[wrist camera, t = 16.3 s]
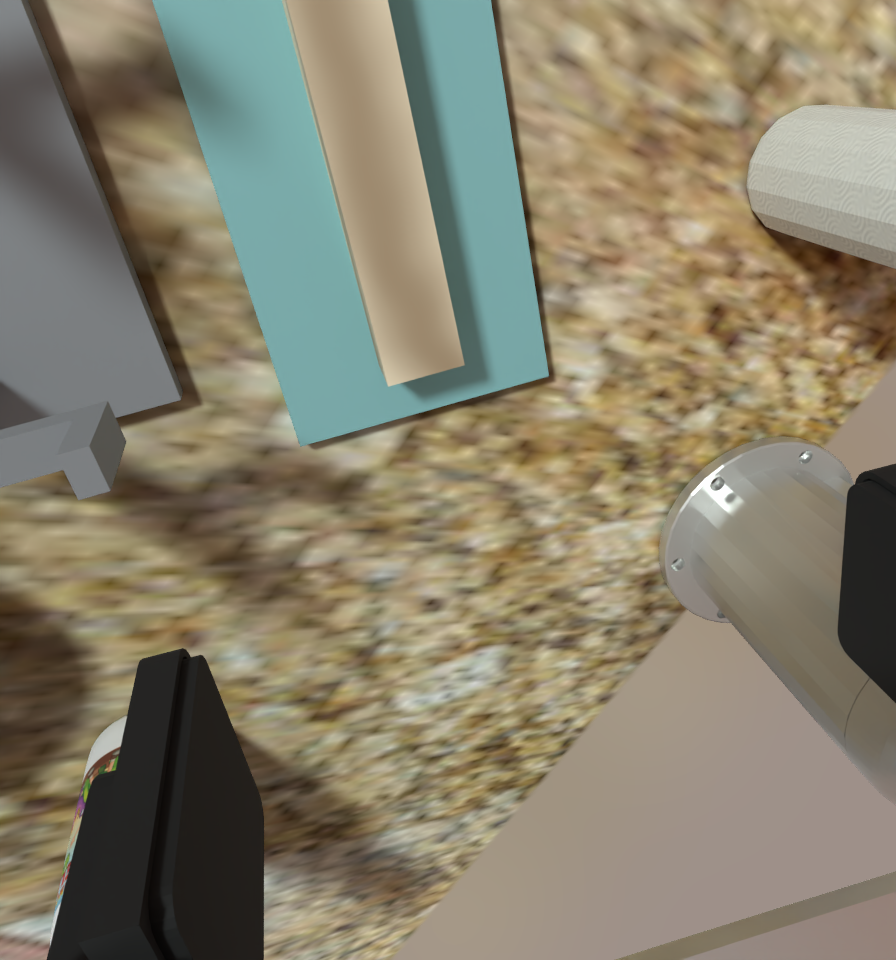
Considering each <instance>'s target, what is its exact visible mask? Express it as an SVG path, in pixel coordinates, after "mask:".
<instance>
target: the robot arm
mask: <svg viewBox="0 0 896 960" xmlns="http://www.w3.org/2000/svg"><path fill="white" fill-rule="evenodd" d="M659 564H660V568H661V572H662V575H663V579H664V581H665V582H666V584H667V586H668V588H669V589H670V591H671V593H672V594H673V595H674V596H675V597H676V598H677V600H678V601H679V602H680V603H681V605H683V606H684V607H685V608H687V609H688V610H689V611H690V612H692V613H693V614H695V615H697V616H700V617H702V618H704V619H707V620H711V621H715V622H721V623H732V625H733V626H734V627H735V628H736V629H737V630H738V631H739V633H741V635H742V636H743V637H744V639H746V641H747V642H748V643H749V644H750V645H751V647H752V648H753V649H754V650H755V651H756V652H757V653H758V655H759V656H760V657H761V658H762V659H763V660H764V662H765V663H766V664H767V665H768V666H769V667H770V669H771V670H772V671H773V672H774V673H775V674H776V675H777V677H778V678H779V679H780V680H781V681H782V682H783V684H784V685H785V686H786V687H787V688H788V689H789V690H790V692H791V693H792V694H793V695H794V696H795V697H796V699H797V700H798V701H799V702H800V703H801V704H802V706H803V707H804V708H805V709H806V710H807V711H808V712H809V714H810V715H811V716H812V717H813V718H814V719H815V720H816V722H817V723H818V724H819V725H820V726H821V727H822V728H823V730H824V731H825V732H826V733H827V734H828V736H829V737H830V738H831V739H832V740H833V741H834V742H835V744H836V745H837V746H838V747H839V748H840V749H841V750H842V752H843V753H844V754H845V755H846V756H847V757H848V759H849V760H850V761H851V762H852V763H853V764H854V765H855V767H856V768H857V769H858V770H859V771H860V772H861V773H862V775H863V776H864V777H865V778H866V779H867V780H868V781H869V783H870V784H871V785H872V786H873V787H874V788H875V789H876V790H877V791H879V793H881V794H882V795H883V796H884V797H885V798H886V799H888V800H889V801H891V802H892V803H893V804H894V805H896V464H892V465H889V466H885V467H881V468H877V469H873V470H869V471H865V472H863V473H861V474H860V475H859V476H858V478H857V479H856V483H855V485H854V484H853V481H852V478H851V476H850V473H849V472H848V470H847V469H846V468H845V467H844V465H843V463H842V462H841V461H840V460H839V459H837V458H836V457H835V456H834V455H833V454H831V453H830V452H829V451H827V450H825V449H824V448H822V447H820V446H819V445H817V444H816V443H814V442H810V441H807V440H804V439H801V438H795V437H783V436H779V437H771V438H762V439H759V440H756V441H752V442H749V443H745V444H743V445H740V446H738V447H736V448H734V449H732V450H730V451H728V452H726V453H724V454H723V455H721V456H720V457H718V458H717V459H715V460H714V461H712V462H711V463H709V464H708V465H707V466H706V467H704V468H703V469H702V470H701V471H700V472H699V473H698V474H697V475H696V476H695V477H694V478H693V479H692V480H691V481H690V482H689V483H688V484H687V486H686V487H685V488H684V489H683V491H682V492H681V493H680V494H679V496H678V497H677V499H676V501H675V503H674V504H673V506H672V508H671V510H670V511H669V513H668V516H667V518H666V521H665V524H664V526H663V529H662V533H661V539H660V545H659ZM47 960H264V815H263V808H262V802H261V798H260V795H259V792H258V789H257V787H256V784H255V782H254V779H253V777H252V774H251V772H250V769H249V767H248V764H247V762H246V759H245V757H244V754H243V752H242V749H241V747H240V744H239V742H238V739H237V737H236V734H235V731H234V729H233V726H232V724H231V721H230V719H229V716H228V714H227V711H226V709H225V706H224V704H223V701H222V699H221V696H220V694H219V691H218V689H217V686H216V684H215V681H214V679H213V676H212V674H211V671H210V669H209V666H208V664H207V662H206V659H205V658H204V657H203V656H202V655H199V656H195V657H190V655H189V653H188V652H187V651H186V649H183V648H182V649H179V650H175V651H171V652H167V653H163V654H159V655H155V656H152V657H148V658H144V659H142V660H140V662H139V665H138V668H137V673H136V678H135V682H134V687H133V691H132V696H131V701H130V705H129V710H128V715H127V719H126V724H125V728H124V733H123V738H122V742H121V747H120V752H119V756H118V761H117V765H116V770H114V771H110V772H106V773H103V774H99V775H97V776H96V777H95V778H94V779H93V781H92V783H91V786H90V789H89V791H88V795H87V799H86V803H85V807H84V811H83V815H82V820H81V824H80V828H79V832H78V836H77V840H76V844H75V848H74V852H73V856H72V860H71V864H70V868H69V872H68V876H67V880H66V884H65V888H64V892H63V896H62V900H61V904H60V908H59V912H58V916H57V920H56V924H55V929H54V933H53V937H52V941H51V945H50V949H49V953H48V957H47ZM616 960H896V872H893V873H889V874H886V875H883V876H880V877H877V878H874V879H870V880H867V881H864V882H861V883H858V884H854V885H851V886H848V887H845V888H841V889H838V890H835V891H832V892H829V893H826V894H822V895H819V896H816V897H813V898H809V899H807V900H803V901H800V902H797V903H793V904H791V905H787V906H784V907H781V908H777V909H774V910H771V911H768V912H765V913H762V914H758V915H755V916H752V917H749V918H746V919H742V920H739V921H736V922H733V923H730V924H727V925H723V926H720V927H717V928H714V929H711V930H707V931H704V932H701V933H698V934H695V935H692V936H688V937H686V938H682V939H679V940H676V941H672V942H670V943H666V944H663V945H660V946H657V947H654V948H651V949H648V950H645V951H641V952H639V953H635V954H632V955H629V956H626V957H623V958H619V959H616Z"/></svg>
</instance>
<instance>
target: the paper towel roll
mask: <svg viewBox="0 0 896 960" xmlns="http://www.w3.org/2000/svg"><path fill="white" fill-rule="evenodd" d="M746 187H747V192H748V196H749V200H750V204H751V209H752V210H753V211H754V213H755V214H756V215H757V216H758V218H759V219H760V220H761V221H762V223H763V224H764V225H765V227H768V228H770V229H773V230H776V231H778V232H781V233H784V234H787V235H790V236H793V237H796V238H800V239H803V240H806V241H809V242H812V243H815V244H818V245H822V246H825V247H828V248H831V249H834V250H837V251H841V252H844V253H847V254H850V255H853V256H856V257H859V258H863V259H866V260H869V261H872V262H875V263H878V264H882V265H885V266H888V267H891V268H894V269H896V110H891V109H877V108H863V107H849V106H835V105H813V106H802V107H800V108H799V109H797V110H795V111H793V112H791V113H789V114H787V115H785V116H783V117H781V118H779V119H778V120H777V121H776V122H775V123H774V125H773V126H772V127H771V128H770V129H769V130H768V131H767V132H766V133H765V134H764V135H763V136H762V137H761V139H760V141H759V143H758V145H757V148H756V150H755V152H754V154H753V156H752V158H751V160H750V163H749V171H748V179H747V186H746Z"/></svg>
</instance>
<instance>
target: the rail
mask: <svg viewBox="0 0 896 960" xmlns="http://www.w3.org/2000/svg"><path fill="white" fill-rule="evenodd" d="M282 3H283V7H284V11H285V15H286V18H287V22H288V26H289V30H290V33H291V37H292V41H293V45H294V48H295V52H296V56H297V60H298V63H299V67H300V71H301V75H302V78H303V82H304V86H305V90H306V93H307V97H308V101H309V105H310V108H311V112H312V116H313V120H314V123H315V127H316V131H317V135H318V139H319V142H320V146H321V150H322V154H323V157H324V161H325V165H326V169H327V172H328V176H329V180H330V184H331V187H332V191H333V195H334V199H335V202H336V206H337V210H338V214H339V217H340V221H341V225H342V229H343V232H344V236H345V240H346V244H347V247H348V251H349V255H350V259H351V262H352V266H353V270H354V274H355V277H356V281H357V285H358V289H359V292H360V296H361V300H362V304H363V307H364V311H365V315H366V319H367V322H368V326H369V330H370V334H371V337H372V341H373V345H374V349H375V352H376V356H377V360H378V364H379V367H380V369H381V371H382V373H383V376H384V378H385V380H386V383H387V385H388V387H389V386H393V385H396V384H400V383H403V382H407V381H410V380H414V379H418V378H421V377H425V376H428V375H432V374H435V373H439V372H442V371H446V370H449V369H453V368H457V367H460V366H464V365H465V364H464V360H463V355H462V350H461V345H460V341H459V336H458V331H457V326H456V322H455V317H454V312H453V307H452V303H451V298H450V293H449V288H448V284H447V279H446V274H445V269H444V265H443V260H442V255H441V250H440V246H439V241H438V236H437V231H436V227H435V222H434V217H433V212H432V208H431V203H430V198H429V194H428V189H427V184H426V179H425V175H424V170H423V165H422V160H421V156H420V151H419V146H418V141H417V137H416V132H415V127H414V122H413V118H412V113H411V108H410V103H409V99H408V94H407V89H406V84H405V80H404V75H403V70H402V65H401V61H400V56H399V51H398V46H397V42H396V37H395V32H394V27H393V23H392V18H391V13H390V9H389V4H388V0H282Z"/></svg>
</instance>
